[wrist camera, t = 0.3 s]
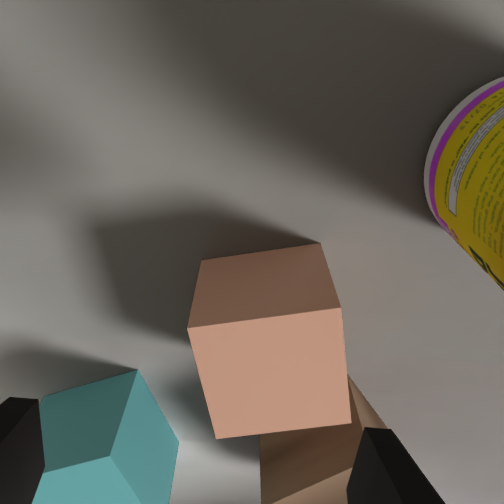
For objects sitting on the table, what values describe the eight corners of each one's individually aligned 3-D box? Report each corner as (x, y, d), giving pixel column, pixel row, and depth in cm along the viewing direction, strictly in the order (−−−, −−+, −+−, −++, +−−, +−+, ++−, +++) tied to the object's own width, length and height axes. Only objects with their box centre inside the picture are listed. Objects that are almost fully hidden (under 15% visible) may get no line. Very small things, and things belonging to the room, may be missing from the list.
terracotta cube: (330, 340, 22) (351, 423, 17) (223, 354, 22) (216, 439, 17) (319, 242, 19) (341, 307, 15) (201, 259, 20) (186, 328, 15)
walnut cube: (393, 435, 24) (426, 528, 20) (310, 473, 25) (323, 569, 21) (346, 371, 22) (371, 459, 18) (258, 416, 24) (261, 508, 19)
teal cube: (179, 440, 24) (163, 535, 20) (92, 463, 25) (57, 559, 20) (138, 368, 22) (109, 456, 18) (44, 395, 23) (-6, 486, 18)
